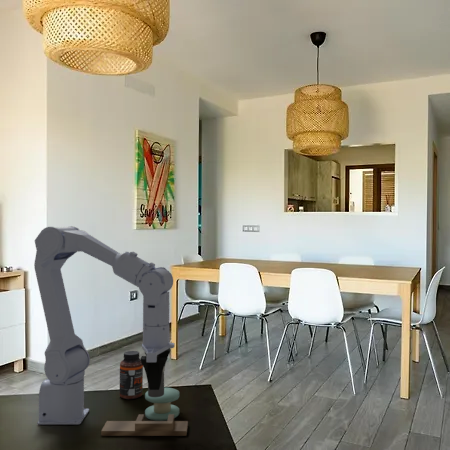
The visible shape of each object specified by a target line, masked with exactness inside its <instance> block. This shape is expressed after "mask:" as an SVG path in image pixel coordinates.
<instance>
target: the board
mask: <svg viewBox="0 0 450 450" xmlns="http://www.w3.org/2000/svg"><path fill="white" fill-rule="evenodd" d="M188 426H189V421H188V420H175V418H174V414H169V416H168V420H166V421H155V420H145V413H144V414H138V415H137V417H136V419H135V420H106V422H105V423H104V426H103V427H102V429H101V430H100V432H101V433H100V436H102V437H103V436H104V437H105V436H107V437H109V436H113V437H114V436H117V437H120V436H123V437H127V436H128V437H129V436H130V437H134V436H135V437H136V436H137V437H139V436H140V437H142V436H143V437H144V436H145V437H150V436H151V437H154V436H156V437H157V436H159V437H161V436H162V437H164V436H165V437H170V436H171V437H174V436H175V437H176V436H177V437H179V436H180V437H184V436H185V437H186V436H187V435H188V434H187V433H188V428H189V427H188Z"/></svg>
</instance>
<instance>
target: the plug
mask: <svg viewBox="0 0 450 450" xmlns="http://www.w3.org/2000/svg"><path fill="white" fill-rule="evenodd" d="M165 367H166V365H165V366H164V368H163V372H162V379H161V385H160V388H159V390H150V389H149V386H148V385H147V391H148V396H150V397H161V396H163V395H164V388H165V370H166V368H165Z"/></svg>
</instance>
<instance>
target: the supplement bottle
mask: <svg viewBox="0 0 450 450" xmlns="http://www.w3.org/2000/svg"><path fill="white" fill-rule="evenodd" d="M143 374H144V367H143V365H142V363H141V357H140V352H139V351H138V350H127V351H124V352H123V360H121V361H120V363H119V397H120V398H122V399H124V400H125V399H126V400H135V399H138V398H140V397H142V395H143V390H144V389H143V387H144V386H143V383H144V382H143V381H144V379H143V377H144V375H143Z"/></svg>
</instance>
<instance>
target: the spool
mask: <svg viewBox="0 0 450 450" xmlns="http://www.w3.org/2000/svg"><path fill="white" fill-rule="evenodd" d="M179 398H180V391H179V390H178V389H176V388H172V387H164V395H163V396H161V397H150V396H148V390H147V391H146V392H145V394H144V399H145V400H146V401H147V402H149V403H153V405H150V406H148V407H147V408H146V409H145V410H144V417H145V418H146V419H148V420H150V421H167V420H168V416H169V414H174V419H175V418H177V417H179V415H180V408H179V407H178V406H177V405H174V404H172V403H173V402H175V401H177V400H179Z"/></svg>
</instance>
